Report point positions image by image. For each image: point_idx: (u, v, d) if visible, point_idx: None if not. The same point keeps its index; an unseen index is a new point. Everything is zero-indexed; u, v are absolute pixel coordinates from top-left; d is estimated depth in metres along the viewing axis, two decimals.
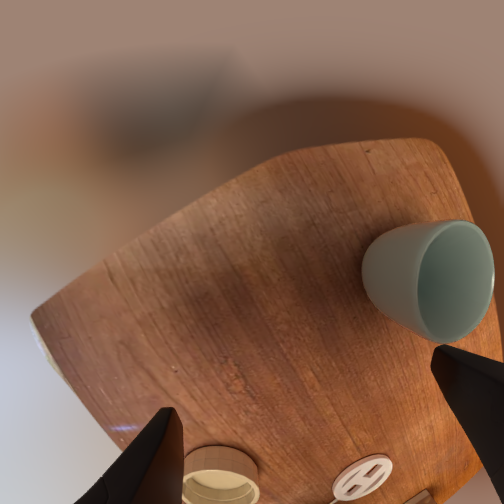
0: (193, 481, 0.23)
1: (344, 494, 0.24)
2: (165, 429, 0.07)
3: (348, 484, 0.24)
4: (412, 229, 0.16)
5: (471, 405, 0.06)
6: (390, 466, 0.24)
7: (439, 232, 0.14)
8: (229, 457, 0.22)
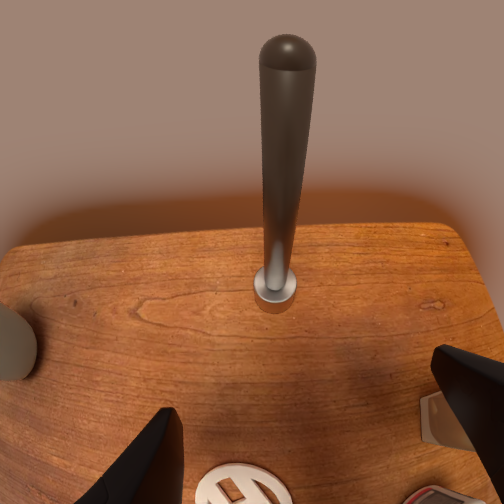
0: None
1: None
2: (165, 429, 0.07)
3: None
4: None
5: (471, 405, 0.06)
6: (244, 469, 0.17)
7: None
8: None
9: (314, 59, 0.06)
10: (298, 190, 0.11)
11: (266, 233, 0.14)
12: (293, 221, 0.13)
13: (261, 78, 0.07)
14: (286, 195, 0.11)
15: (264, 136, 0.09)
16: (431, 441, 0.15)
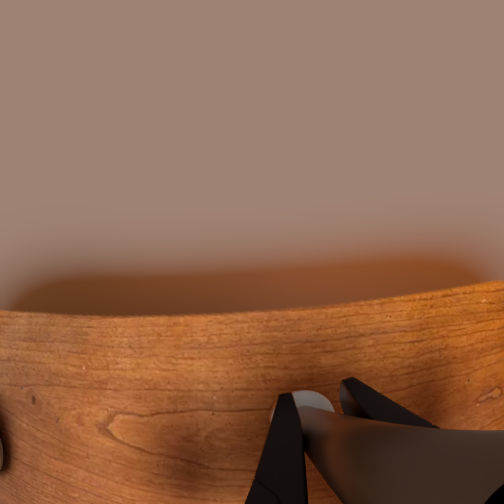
0: None
1: None
2: (298, 413, 0.07)
3: None
4: None
5: None
6: None
7: None
8: None
9: None
10: None
11: None
12: None
13: None
14: None
15: None
16: None
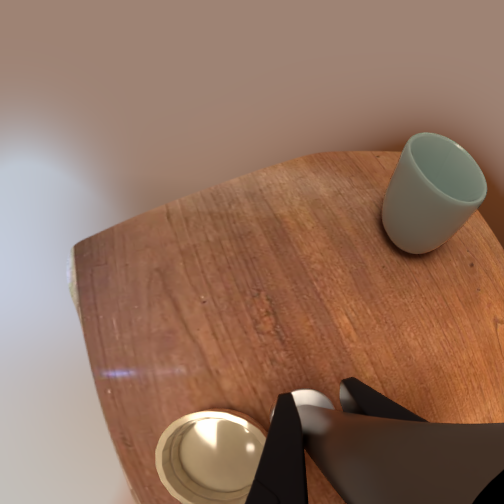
0: (181, 466, 0.17)
1: None
2: (298, 413, 0.07)
3: None
4: None
5: None
6: None
7: (419, 134, 0.19)
8: (242, 414, 0.18)
9: None
10: None
11: (317, 465, 0.05)
12: None
13: None
14: None
15: None
16: None
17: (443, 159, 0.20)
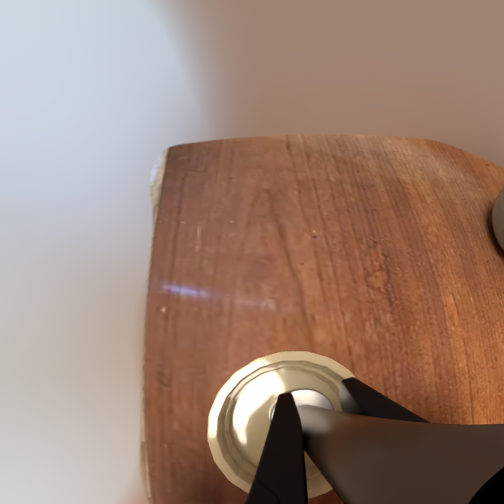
0: (229, 427, 0.14)
1: None
2: (298, 413, 0.07)
3: None
4: None
5: None
6: None
7: None
8: None
9: None
10: None
11: None
12: None
13: None
14: None
15: None
16: None
17: None
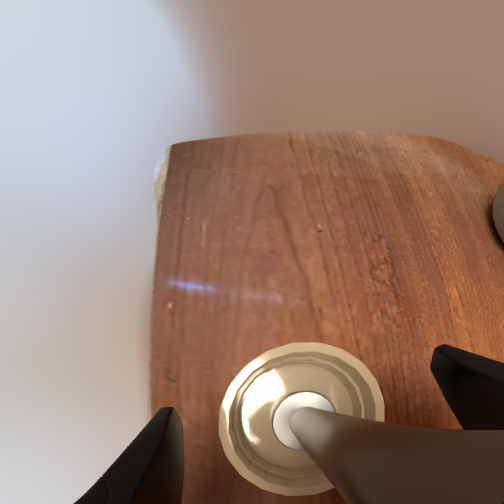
0: (239, 422, 0.14)
1: None
2: (165, 429, 0.07)
3: None
4: None
5: (471, 405, 0.06)
6: None
7: None
8: None
9: None
10: None
11: (320, 469, 0.05)
12: None
13: None
14: None
15: None
16: None
17: None
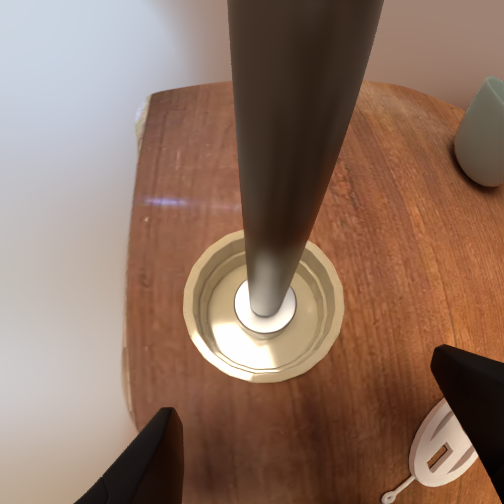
0: (206, 318, 0.17)
1: (426, 464, 0.12)
2: (165, 429, 0.07)
3: (439, 436, 0.13)
4: None
5: (471, 405, 0.06)
6: None
7: (495, 78, 0.15)
8: None
9: None
10: (333, 165, 0.04)
11: (250, 253, 0.07)
12: (308, 232, 0.06)
13: None
14: (303, 178, 0.04)
15: None
16: None
17: None
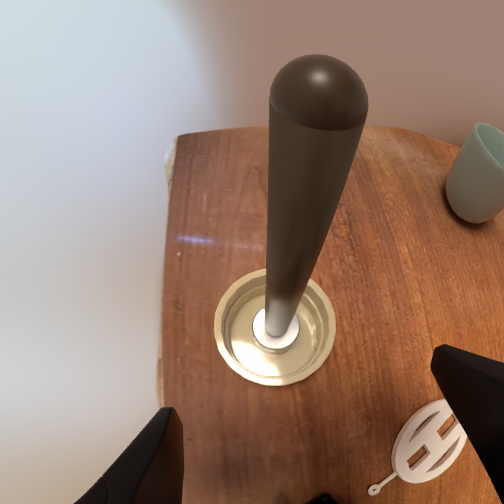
0: (229, 336, 0.21)
1: (406, 462, 0.15)
2: (165, 429, 0.07)
3: (418, 439, 0.16)
4: None
5: (471, 405, 0.06)
6: None
7: (485, 124, 0.20)
8: None
9: (367, 106, 0.04)
10: (313, 266, 0.09)
11: (269, 298, 0.12)
12: (303, 290, 0.11)
13: (273, 133, 0.04)
14: (298, 274, 0.08)
15: (272, 212, 0.06)
16: None
17: (500, 150, 0.20)
